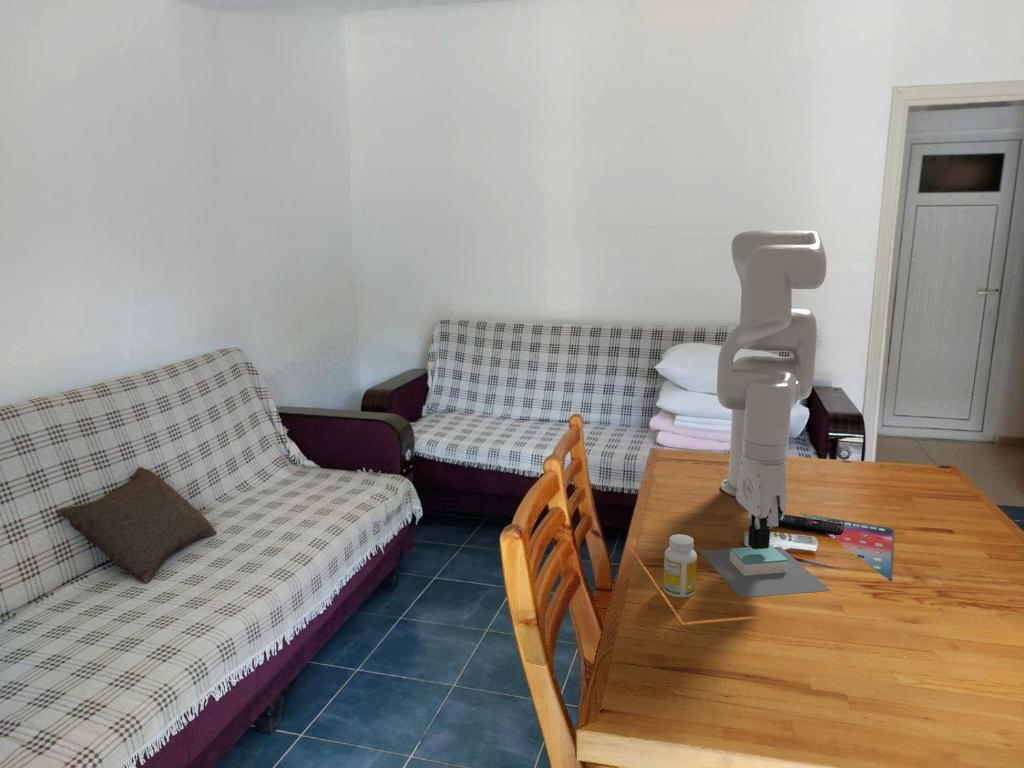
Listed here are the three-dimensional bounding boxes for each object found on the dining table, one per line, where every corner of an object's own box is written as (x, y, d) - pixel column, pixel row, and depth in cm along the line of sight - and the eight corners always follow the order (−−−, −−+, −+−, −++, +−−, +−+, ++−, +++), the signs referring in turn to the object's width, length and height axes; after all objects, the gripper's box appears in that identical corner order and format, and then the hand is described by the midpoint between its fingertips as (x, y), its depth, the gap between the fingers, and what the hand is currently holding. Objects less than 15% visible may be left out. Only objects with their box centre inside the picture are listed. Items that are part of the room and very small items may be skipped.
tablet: (894, 531, 151) (894, 527, 151) (891, 584, 130) (891, 579, 130) (794, 515, 160) (794, 511, 160) (776, 562, 138) (776, 558, 138)
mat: (699, 553, 142) (699, 551, 141) (778, 547, 144) (778, 545, 144) (740, 600, 124) (740, 597, 124) (830, 592, 126) (830, 590, 126)
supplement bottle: (666, 599, 125) (668, 546, 123) (660, 583, 130) (662, 532, 128) (698, 599, 125) (701, 545, 123) (691, 583, 130) (693, 532, 128)
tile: (730, 548, 137) (745, 563, 131) (771, 545, 138) (787, 559, 132) (729, 560, 137) (744, 575, 132) (770, 557, 139) (786, 572, 133)
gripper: (726, 438, 137) (721, 531, 141) (764, 464, 123) (757, 567, 127) (765, 436, 138) (759, 528, 142) (807, 462, 124) (799, 564, 128)
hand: (758, 546), depth 134 cm, fingers closed
